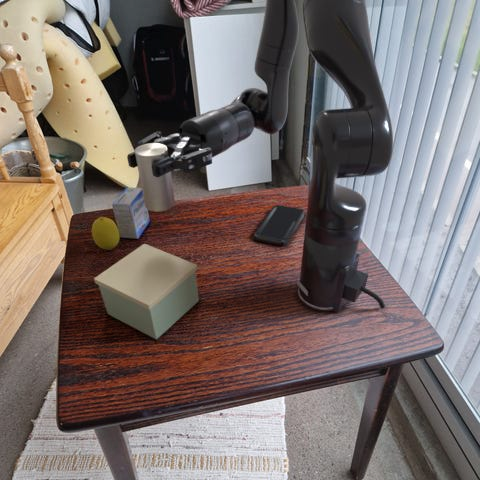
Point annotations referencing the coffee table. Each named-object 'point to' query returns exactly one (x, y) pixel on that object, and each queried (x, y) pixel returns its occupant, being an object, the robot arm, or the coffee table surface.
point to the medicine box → (131, 213)
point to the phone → (279, 225)
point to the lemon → (105, 233)
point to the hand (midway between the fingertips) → (141, 166)
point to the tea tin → (154, 178)
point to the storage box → (149, 289)
